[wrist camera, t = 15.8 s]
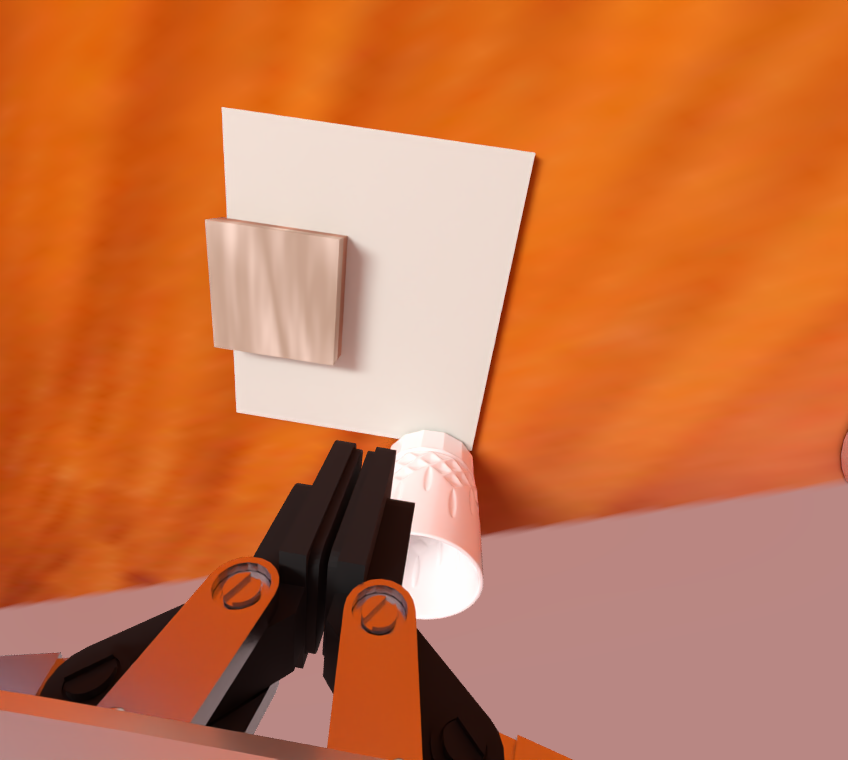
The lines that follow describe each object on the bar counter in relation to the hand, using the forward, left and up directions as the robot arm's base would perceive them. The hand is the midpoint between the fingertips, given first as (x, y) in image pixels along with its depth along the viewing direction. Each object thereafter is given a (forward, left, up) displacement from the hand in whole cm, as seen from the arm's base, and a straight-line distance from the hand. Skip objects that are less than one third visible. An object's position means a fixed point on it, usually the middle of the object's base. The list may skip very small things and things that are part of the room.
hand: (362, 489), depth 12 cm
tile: (+5, 0, -18) cm, 18 cm away
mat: (+4, 0, -19) cm, 20 cm away
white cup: (-2, +12, -19) cm, 22 cm away
